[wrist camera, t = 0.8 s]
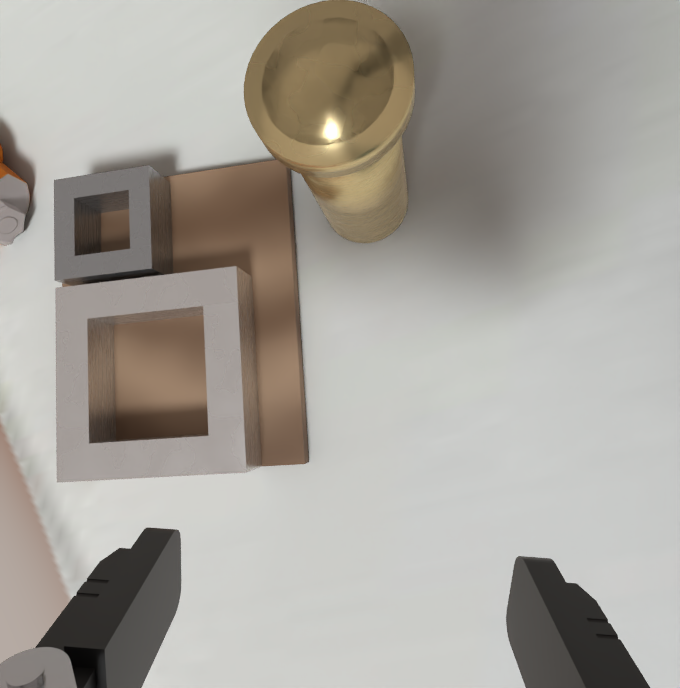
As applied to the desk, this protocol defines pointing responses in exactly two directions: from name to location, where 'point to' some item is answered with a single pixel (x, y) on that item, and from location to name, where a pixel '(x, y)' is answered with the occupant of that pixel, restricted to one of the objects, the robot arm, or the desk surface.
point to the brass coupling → (338, 110)
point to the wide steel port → (99, 376)
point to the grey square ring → (85, 226)
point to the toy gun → (12, 203)
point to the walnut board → (188, 332)
